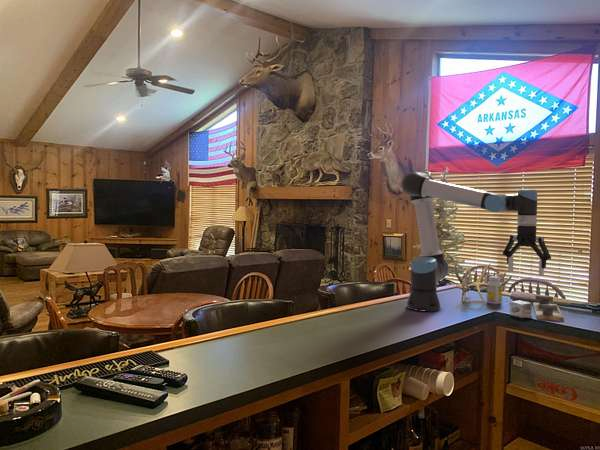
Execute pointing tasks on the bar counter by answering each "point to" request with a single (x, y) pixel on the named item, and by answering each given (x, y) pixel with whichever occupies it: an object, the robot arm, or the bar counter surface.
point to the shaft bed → (547, 317)
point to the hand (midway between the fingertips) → (525, 273)
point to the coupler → (520, 309)
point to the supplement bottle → (494, 290)
